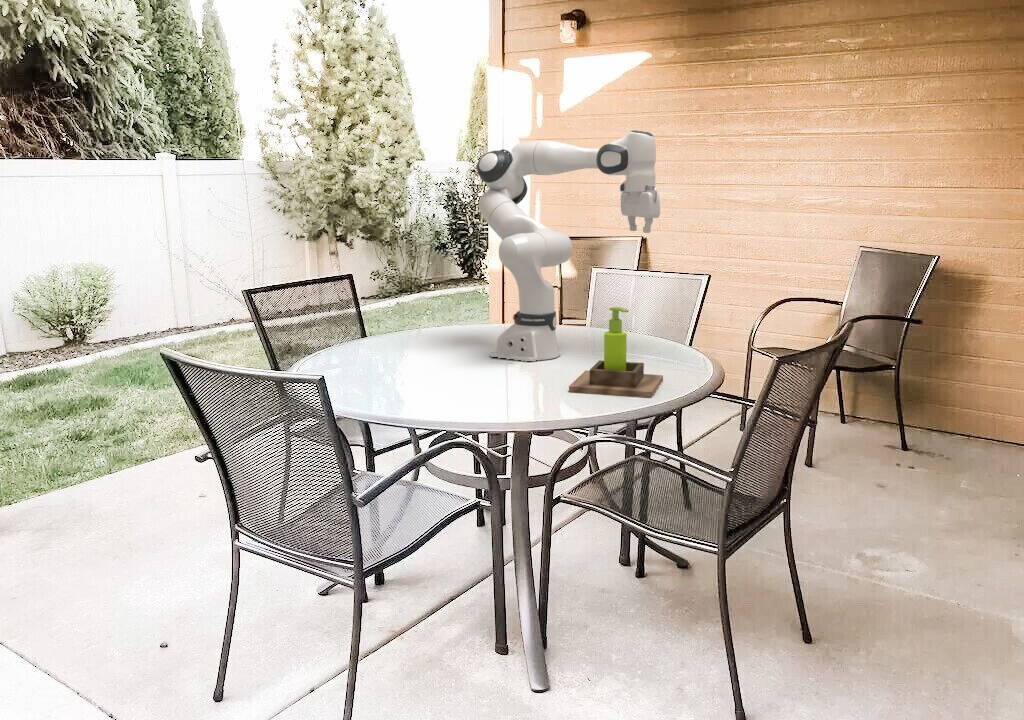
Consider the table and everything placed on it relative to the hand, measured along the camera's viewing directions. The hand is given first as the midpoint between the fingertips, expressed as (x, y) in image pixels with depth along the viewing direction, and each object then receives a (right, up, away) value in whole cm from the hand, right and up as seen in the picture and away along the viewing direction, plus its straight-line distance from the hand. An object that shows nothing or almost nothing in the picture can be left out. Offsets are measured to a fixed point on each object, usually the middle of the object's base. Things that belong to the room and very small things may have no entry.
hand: (639, 231), depth 240 cm
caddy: (-11, -47, -29) cm, 56 cm away
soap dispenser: (-11, -45, -29) cm, 55 cm away
